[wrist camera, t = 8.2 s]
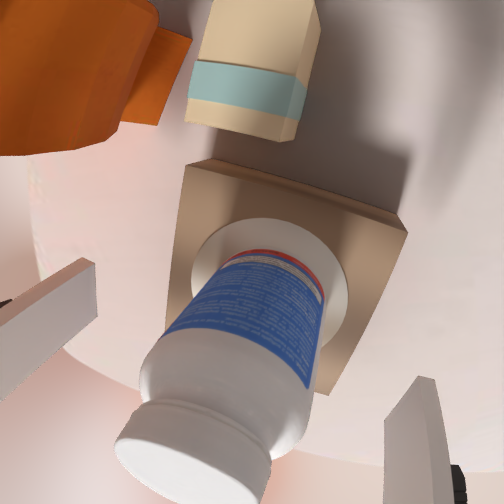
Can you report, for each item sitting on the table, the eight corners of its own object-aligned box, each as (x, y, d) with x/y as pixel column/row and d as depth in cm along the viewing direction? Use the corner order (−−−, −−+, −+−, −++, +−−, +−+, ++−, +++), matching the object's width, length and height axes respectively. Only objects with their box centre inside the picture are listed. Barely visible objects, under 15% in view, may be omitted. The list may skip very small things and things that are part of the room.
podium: (211, 158, 16) (184, 165, 14) (397, 214, 15) (408, 233, 12) (185, 311, 21) (163, 338, 18) (332, 362, 19) (328, 396, 16)
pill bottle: (203, 248, 15) (54, 389, 6) (321, 238, 13) (270, 437, 4) (228, 344, 17) (139, 499, 8) (331, 344, 15) (296, 535, 6)
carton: (243, 17, 13) (214, -11, 10) (322, 30, 13) (315, -1, 9) (218, 121, 16) (181, 121, 12) (295, 140, 15) (280, 142, 11)
